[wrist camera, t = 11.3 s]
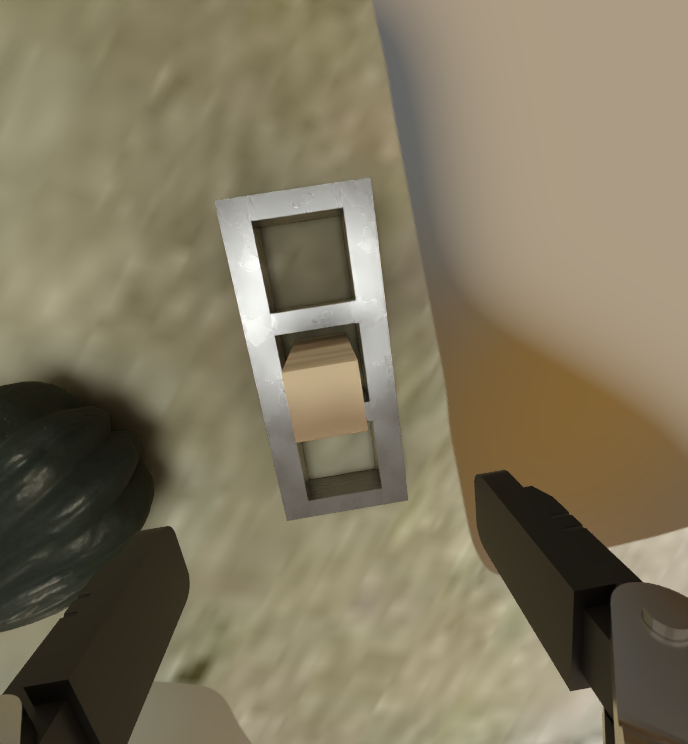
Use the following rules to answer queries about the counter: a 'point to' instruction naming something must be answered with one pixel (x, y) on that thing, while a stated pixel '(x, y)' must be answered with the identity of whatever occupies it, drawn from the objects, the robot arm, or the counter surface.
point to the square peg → (324, 388)
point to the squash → (61, 498)
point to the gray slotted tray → (269, 324)
